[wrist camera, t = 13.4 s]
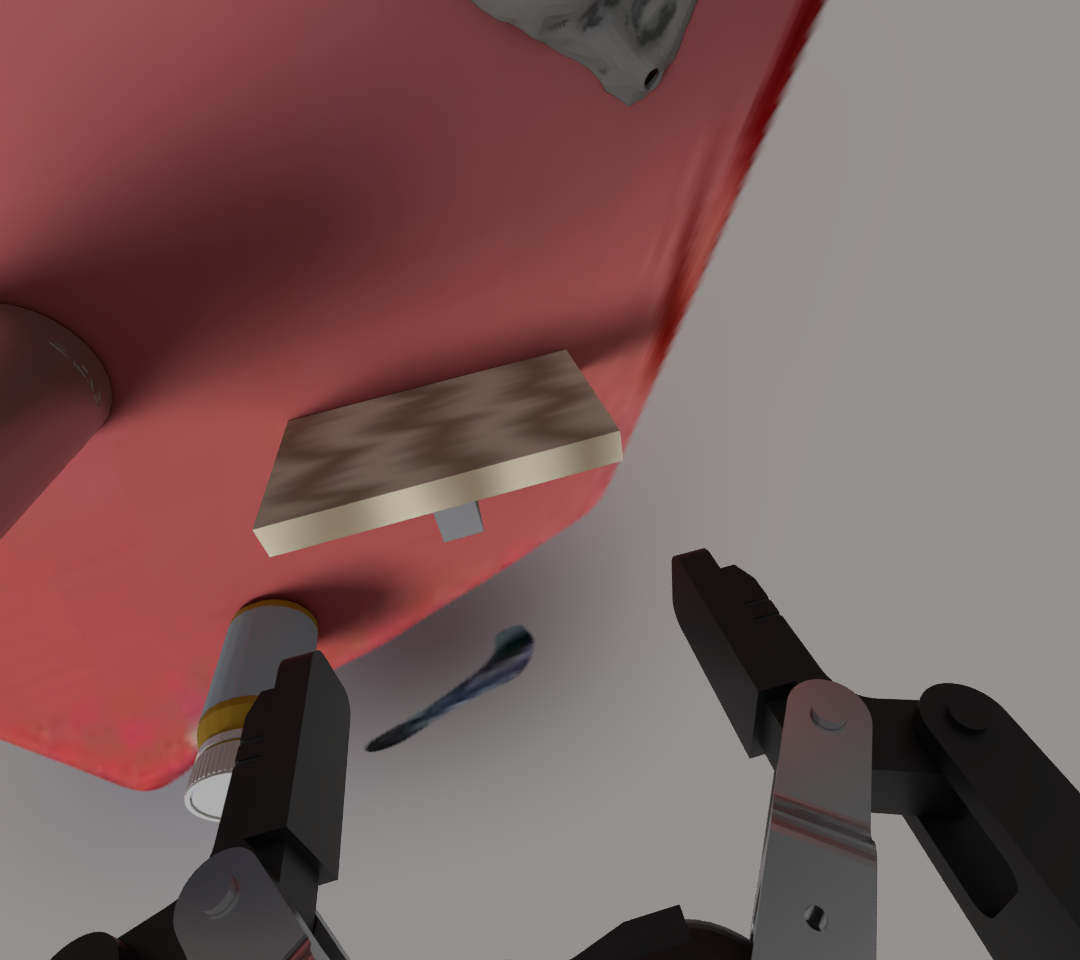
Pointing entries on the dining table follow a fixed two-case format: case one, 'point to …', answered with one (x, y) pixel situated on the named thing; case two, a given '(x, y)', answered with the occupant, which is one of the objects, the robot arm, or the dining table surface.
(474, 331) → the dining table surface
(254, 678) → the bottle
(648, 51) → the wall plaque
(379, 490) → the wall board
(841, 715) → the robot arm
